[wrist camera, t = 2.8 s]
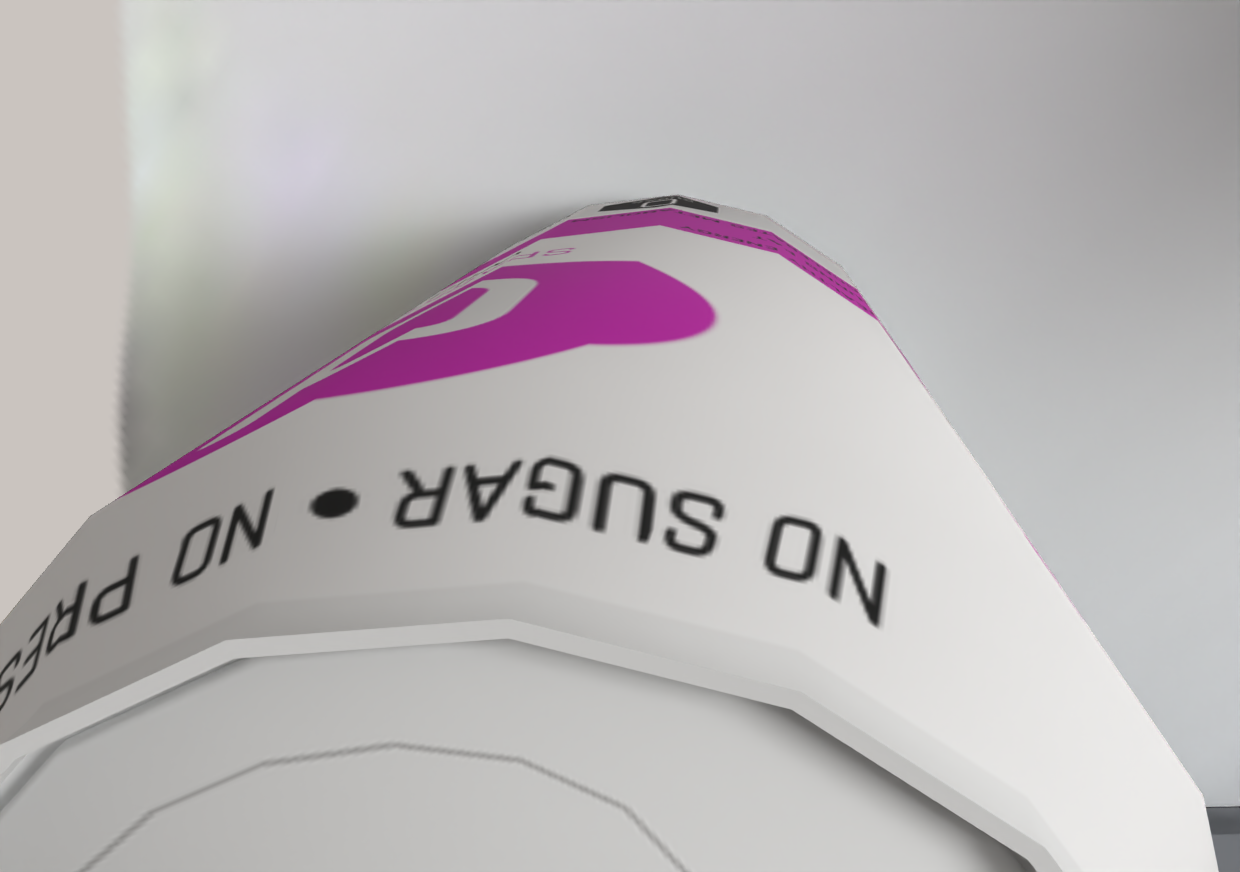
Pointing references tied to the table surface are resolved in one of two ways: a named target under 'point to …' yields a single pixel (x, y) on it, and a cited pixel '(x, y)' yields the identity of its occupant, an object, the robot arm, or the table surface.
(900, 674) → the supplement can
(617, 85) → the table surface
